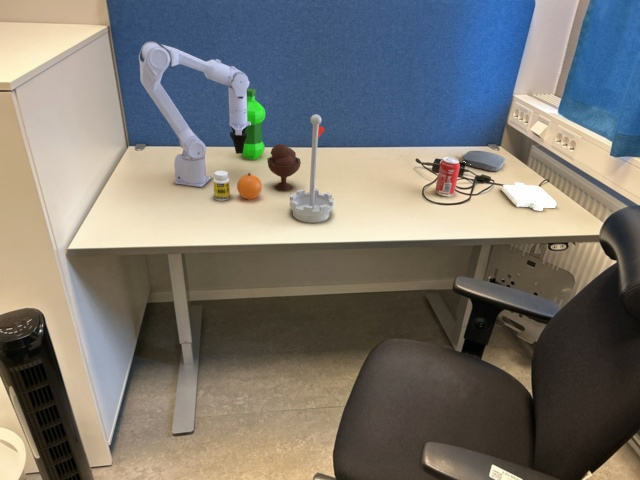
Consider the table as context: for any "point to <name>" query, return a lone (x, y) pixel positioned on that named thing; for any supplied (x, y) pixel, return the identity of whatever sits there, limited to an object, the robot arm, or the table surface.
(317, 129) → the flag stand
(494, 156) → the media streaming box
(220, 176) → the supplement bottle
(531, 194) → the mounting plate
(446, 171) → the beverage can
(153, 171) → the table surface
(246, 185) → the orange
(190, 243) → the table surface
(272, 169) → the ice cream bowl
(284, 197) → the table surface
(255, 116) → the plastic bottle
